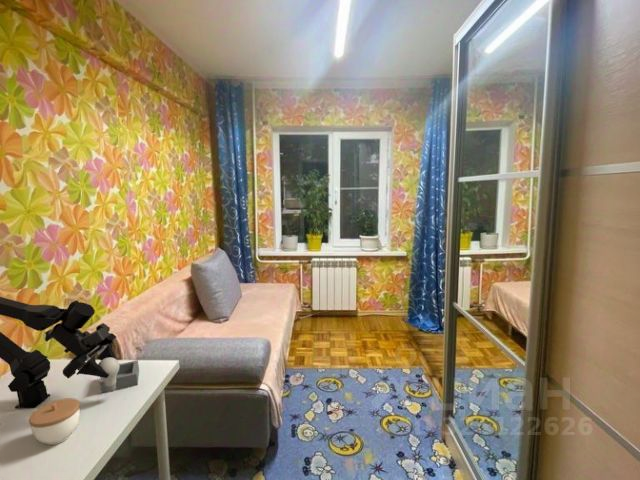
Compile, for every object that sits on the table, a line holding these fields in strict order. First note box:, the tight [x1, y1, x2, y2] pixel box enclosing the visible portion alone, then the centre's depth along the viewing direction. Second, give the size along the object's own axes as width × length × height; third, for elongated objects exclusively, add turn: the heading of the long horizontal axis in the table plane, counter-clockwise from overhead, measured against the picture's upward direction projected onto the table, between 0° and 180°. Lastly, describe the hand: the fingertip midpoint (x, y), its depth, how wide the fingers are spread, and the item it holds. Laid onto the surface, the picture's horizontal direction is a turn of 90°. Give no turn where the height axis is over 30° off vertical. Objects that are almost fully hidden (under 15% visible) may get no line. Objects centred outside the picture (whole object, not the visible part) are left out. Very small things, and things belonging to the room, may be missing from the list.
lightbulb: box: [97, 357, 120, 393], centre depth 110 cm, size 6×6×11 cm
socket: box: [99, 359, 140, 395], centre depth 121 cm, size 10×10×4 cm
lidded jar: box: [28, 397, 81, 446], centre depth 95 cm, size 11×11×9 cm
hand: (113, 371), depth 110 cm, fingers closed on lightbulb, 6 cm apart
